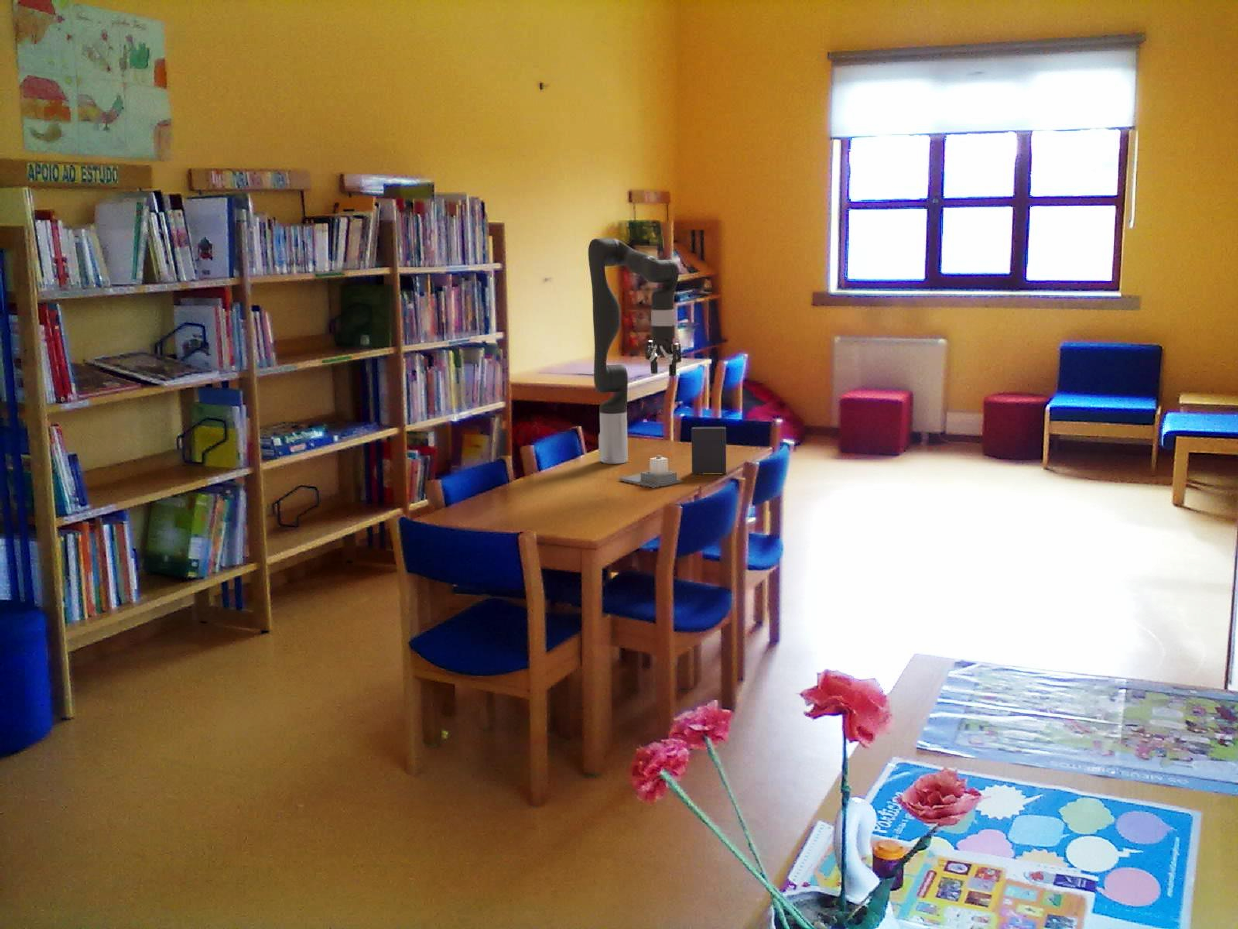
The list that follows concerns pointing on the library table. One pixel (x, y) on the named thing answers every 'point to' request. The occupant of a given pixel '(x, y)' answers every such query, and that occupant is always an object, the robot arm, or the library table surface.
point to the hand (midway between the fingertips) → (663, 374)
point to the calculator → (708, 450)
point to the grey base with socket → (652, 479)
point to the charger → (658, 465)
